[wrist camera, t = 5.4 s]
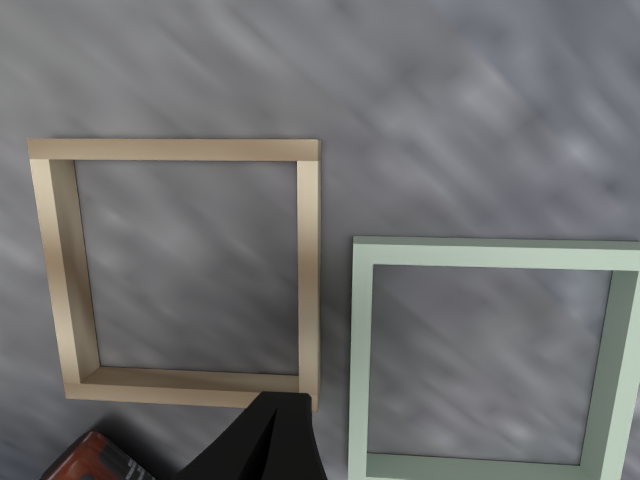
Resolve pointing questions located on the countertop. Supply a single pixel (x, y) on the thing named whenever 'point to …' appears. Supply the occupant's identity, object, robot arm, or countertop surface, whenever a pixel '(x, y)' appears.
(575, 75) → the countertop surface
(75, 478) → the supplement bottle
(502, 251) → the square frame
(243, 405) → the socket collar
